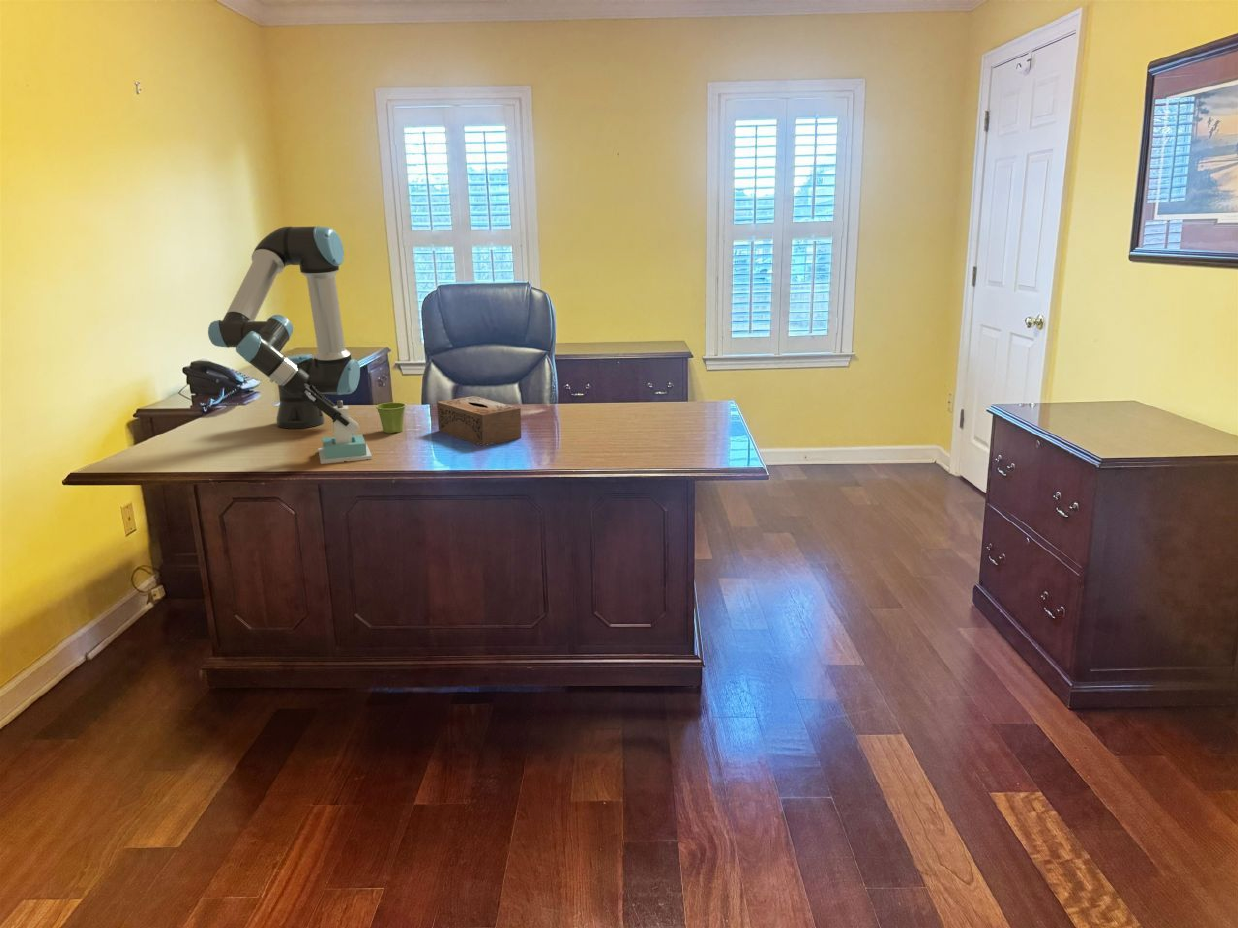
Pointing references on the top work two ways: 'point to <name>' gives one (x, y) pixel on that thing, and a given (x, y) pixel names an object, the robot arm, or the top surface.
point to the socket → (344, 450)
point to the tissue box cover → (479, 420)
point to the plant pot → (391, 416)
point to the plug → (339, 431)
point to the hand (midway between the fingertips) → (355, 429)
